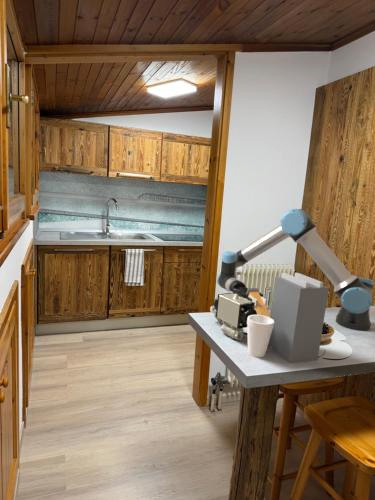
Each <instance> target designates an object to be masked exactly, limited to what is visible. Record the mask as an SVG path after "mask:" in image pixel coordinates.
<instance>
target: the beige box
mask: <svg viewBox="0 0 375 500" xmlns="http://www.w3.org/2000/svg"><path fill="white" fill-rule="evenodd" d="M209 309H210V312H211V313H212V314H214V318H215V319H216V320H217V321H216V322H217V323H218V324H222V323H223V320H221V319H219V318H217V317H216V310H215V308H214V304H213V305H212V306H210V308H209Z"/></svg>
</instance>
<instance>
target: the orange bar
mask: <svg viewBox="0 0 375 500" xmlns="http://www.w3.org/2000/svg"><path fill="white" fill-rule="evenodd" d="M247 288H248V290H247V292H246V294H247V295H248V296H249V295H250V296H252V297H253V298H255V299H257V300H258V302H257V306H254V307H255V308H254V309H255V310H256V312H257V315H263V316H267V317H270V311H269V309H268V308H267V305H265V304H264V302H263V300H262V298H261V296H260V294H259V293H258V292H260V291H259V288H258V287H247Z"/></svg>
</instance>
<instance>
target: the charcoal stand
mask: <svg viewBox="0 0 375 500" xmlns="http://www.w3.org/2000/svg"><path fill="white" fill-rule="evenodd" d="M273 283H274V284H273V290H272V297H271V298H272V299H271V306H270V311H269V313H270V318H271V319H273V320H274V327H273V329H272V333H271V336H270V340H269V343H268V347H269V348H271V350H273V351H275V352H276V353H277V354H278V355H280V356H281V357H282V358H283V359H284V360H286V361H287V362H288V363H289V364H292V363H300V362H309V361H317V360H318V359H319V354H320V352H319V351H320V347H321V340H322V333H323V329H324V328H323V327H324V322H325V315H326V309H327V304H328V303H327V302H328V298H329V297H328V296H329V291H330V289H329V288H330V287H328V286H325V285H324V282H323V281H321V280H318V279H315V278H312V277H310V276H307V275H305V274H303V273H299V272H294V276H293V275H291V274H289V273H286V272H281V276H275V277H274V282H273Z"/></svg>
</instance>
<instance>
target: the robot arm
mask: <svg viewBox="0 0 375 500" xmlns="http://www.w3.org/2000/svg"><path fill="white" fill-rule="evenodd" d="M317 228H318V227H317V226H316V225H315V223H314V222H313V221H312V216H311V214H310V213H309V211H307V210H305V209H302V208H291V209H289V210H287V211H285V212H284V214H283V215H282V216H281V219H280V224H279V225H278V226H276V227H275V228H272V229H271V230H270V231H268V232H267V233H265V234H263V235H262V236H260V237H259V238H257V239H256V240H254V241H252V242H251V243H249V244H248V245H247V246H245V247H243V248H242V249H240V250H238V251H237V252H233V251H224V252H223V253H222V257H221V265H220V267H221V269H220V273H219V274H218V275H217V277H216V283H217V285H218V286H219V287H220V288H222V289H224V290H225V291H227V293H233V294H238V296H240V297H243V298H247V300H250V301H252V302H254V303H255V306H257V302H258V300H257V299H255V298H253V297H252V296H250V295H249V296H248V295H247V294H246V292H247V290H248V288H249V287H247V286H246V285H245V283H244V282H243V281H241V280H239V279H237V278H236V270H237V268H239V267H243V266H244V265H246V264H247V263H248V262H250V261H252V260H253V259H255V258H257V257H258V256H260V255H261V254H263V253H265V252H266V251H268V250H270V249H272V248H273V247H275V246H277V245H278V244H280V243H281V242H283V241H284V240H287V239H288V238H291V239H292V240H293V242H294V243H295V244H300V245H301V246H302V248H303V249H304V250H305V251H306V252H307V254H308V255H309V257H310V258H311V259H312V260H313V261H314V263H315V264H316V265H317V266H318V268H319V269H320V270H321V271H322V272H323V274H324V275H325V276H326V278H328V280H329V281H330V282H331V284H332V285H333V287H334V289H333V293H335V294H336V296H337V297H338V298H339V299H340V303H341V307H340V309H339V311H338V313H337V315H336V316H335V322H336V323H337V324H338V325H340V326H342V327H345V328H347V329H350V330H355V331H356V330H357V331H368V330H370V329H371V326H372V325H371V324H372V323H371V318H370V308H371V306H372V305H373V304H372V303H373V291H374V287H375V286H374V285H375V282H374V280H373V279H370V278H364V277H359V276H357V275H355V274H354V275H352V274H351V273H350V271H348V269H347V268H346V266H345V265H344V264H343V263H342V262H341V260H340V259H339V258H338V257H337V256H336V254H335V253H334V252H333V251H332V250H331V248H330V247H329V246H328V245H327V243H326V242H325V241H324V240H323V239H322V237H321V236H320V235H319V233H318V232H317ZM258 293H259V294H260V296H261V298H262V300H263V302H264V304H265V305H266V306H267V305H268V304H267V303H268V299H266V298H265V297H264V294H263V293H262V292H260V291H258Z"/></svg>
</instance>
